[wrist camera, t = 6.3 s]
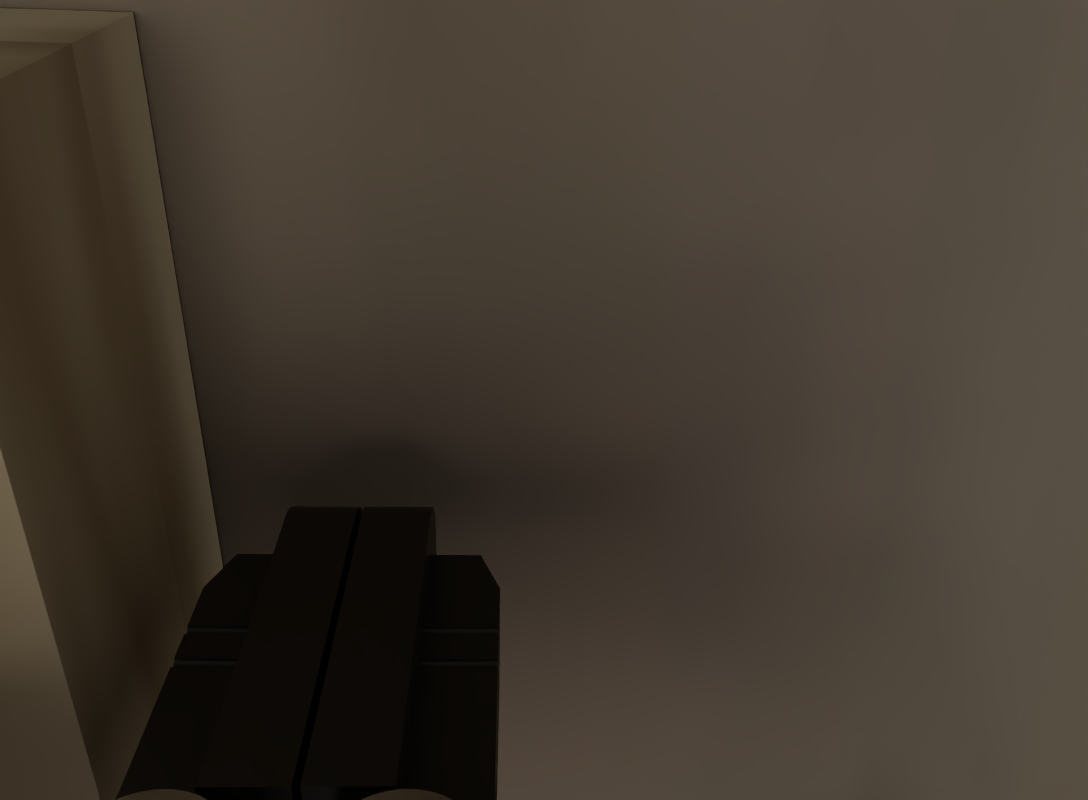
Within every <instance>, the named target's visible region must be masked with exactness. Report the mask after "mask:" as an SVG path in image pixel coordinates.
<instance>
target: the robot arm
mask: <svg viewBox="0 0 1088 800" xmlns="http://www.w3.org/2000/svg"><path fill="white" fill-rule="evenodd" d="M187 628H188V629H187V634H184V635H183V638H182V640H181V643H180V645H179V647H178V650H177V652H176V655H175V657H174V666H173V667H170V669H169V672H168V674H167V676H166V679H165V681H164V684H163V686H162V689H161V691H160V693H159V696H158V698H157V701H156V703H155V705H154V708H153V710H152V713H151V715H150V718H149V720H148V722H147V725H146V727H145V730H144V732H143V735H142V737H141V739H140V742H139V744H138V747H137V749H136V751H135V754H134V756H133V759H132V761H131V764H130V766H129V768H128V771H127V773H126V776H125V778H124V780H123V783H122V785H121V788H120V790H119V792H118V794H117V796H116V798H115V800H497V771H498V729H499V655H500V588H499V586H498V584H497V583H496V581H495V579H494V578H493V576H492V574H491V572H490V571H489V569H488V567H487V565H486V564H485V562H484V560H483V558H482V557H481V555H436V527H435V513H434V508H433V507H365V508H364V510H363V511H362V508H361V507H308V506H292V507H290V508H289V510H288V512H287V514H286V517H285V520H284V523H283V526H282V529H281V532H280V535H279V538H278V541H277V544H276V547H275V550H274V553H273V554H237V555H236V556H235V557H234V558H233V559H232V560H231V561H230V562H229V563H228V564H227V565H226V566H225V567H224V568H223V569H222V570H221V571H220V572H218V573H217V574H216V575H215V576H214V577H213V578H212V579H211V580H210V581H209V582H208V583H207V584H206V585H205V586H204V587H203V589H202V592H201V594H200V597H199V599H198V601H197V604H196V606H195V609H194V611H193V614H192V616H191V618H190V621H189V623H188V626H187Z"/></svg>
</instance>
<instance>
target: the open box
mask: <svg viewBox="0 0 1088 800" xmlns="http://www.w3.org/2000/svg"><path fill="white" fill-rule="evenodd" d="M222 569H223V564H222V558H221V552H220V546H219V539H218V533H217V527H216V521H215V515H214V508H213V502H212V496H211V490H210V484H209V478H208V471H207V465H206V459H205V453H204V447H203V441H202V434H201V428H200V422H199V416H198V410H197V404H196V397H195V391H194V385H193V379H192V373H191V367H190V360H189V354H188V348H187V342H186V336H185V329H184V323H183V317H182V311H181V305H180V299H179V292H178V286H177V280H176V274H175V268H174V262H173V255H172V249H171V243H170V237H169V231H168V225H167V218H166V212H165V206H164V200H163V194H162V187H161V181H160V175H159V169H158V163H157V157H156V150H155V144H154V138H153V132H152V126H151V120H150V113H149V107H148V101H147V95H146V89H145V83H144V76H143V70H142V64H141V58H140V52H139V45H138V39H137V33H136V27H135V21H134V15H133V12H110V11H79V10H48V9H18V8H0V800H115V798H116V796H117V794H118V792H119V790H120V788H121V785H122V783H123V780H124V778H125V776H126V773H127V771H128V768H129V766H130V764H131V761H132V759H133V756H134V754H135V751H136V749H137V747H138V744H139V742H140V739H141V737H142V735H143V732H144V730H145V727H146V725H147V722H148V720H149V718H150V715H151V713H152V710H153V708H154V705H155V703H156V701H157V698H158V696H159V693H160V691H161V689H162V686H163V684H164V681H165V679H166V676H167V674H168V672H169V669H170V667H173V666H174V657H175V655H176V652H177V650H178V647H179V645H180V643H181V640H182V638H183V635H184V634H187V629H188V628H187V626H188V623H189V621H190V618H191V616H192V614H193V611H194V609H195V606H196V604H197V601H198V599H199V597H200V594H201V592H202V589H203V587H204V586H205V585H206V584H207V583H208V582H209V581H210V580H211V579H212V578H213V577H214V576H215V575H216V574H217V573H218V572H220V571H221V570H222Z"/></svg>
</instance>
